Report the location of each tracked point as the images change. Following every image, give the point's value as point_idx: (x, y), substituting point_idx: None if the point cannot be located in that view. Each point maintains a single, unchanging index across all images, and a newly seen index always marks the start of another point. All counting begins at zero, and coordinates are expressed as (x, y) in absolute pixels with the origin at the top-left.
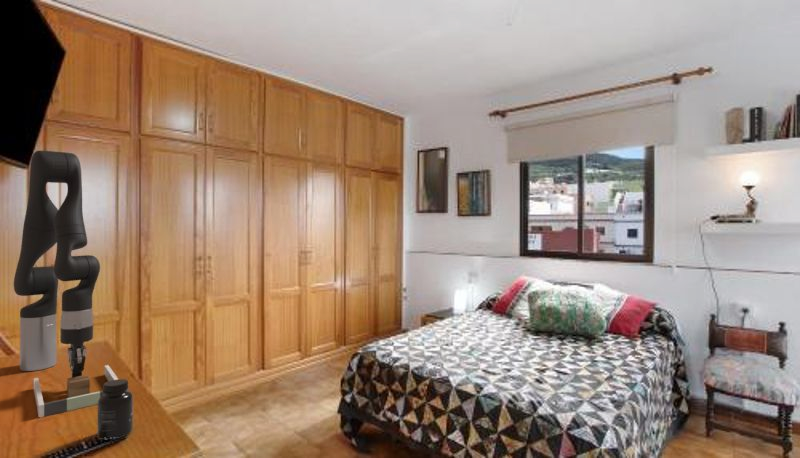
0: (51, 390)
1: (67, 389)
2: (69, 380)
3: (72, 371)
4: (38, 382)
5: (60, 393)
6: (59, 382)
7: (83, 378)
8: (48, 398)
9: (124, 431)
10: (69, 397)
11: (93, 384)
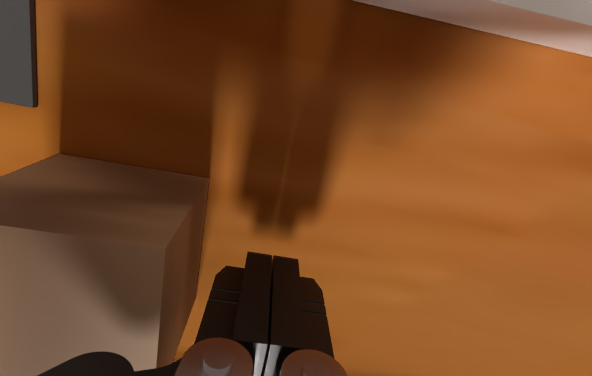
0: (430, 121)
1: (188, 192)
2: (42, 242)
3: (184, 362)
4: (533, 1)
5: (282, 148)
6: (576, 220)
7: (12, 363)
8: (226, 39)
9: None
10: (47, 158)
11: None
